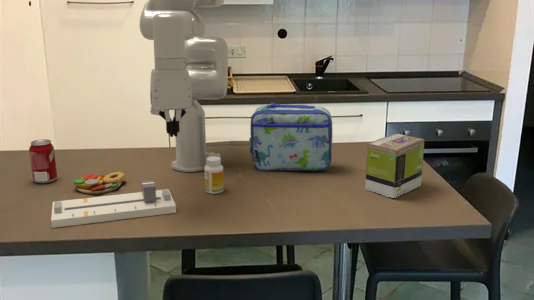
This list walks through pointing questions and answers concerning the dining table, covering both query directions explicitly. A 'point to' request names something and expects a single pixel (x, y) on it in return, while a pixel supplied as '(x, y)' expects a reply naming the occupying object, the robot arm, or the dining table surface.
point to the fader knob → (148, 190)
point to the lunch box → (291, 137)
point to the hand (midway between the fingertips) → (173, 135)
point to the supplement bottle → (214, 175)
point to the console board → (110, 208)
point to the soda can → (43, 161)
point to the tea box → (394, 165)
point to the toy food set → (99, 183)
